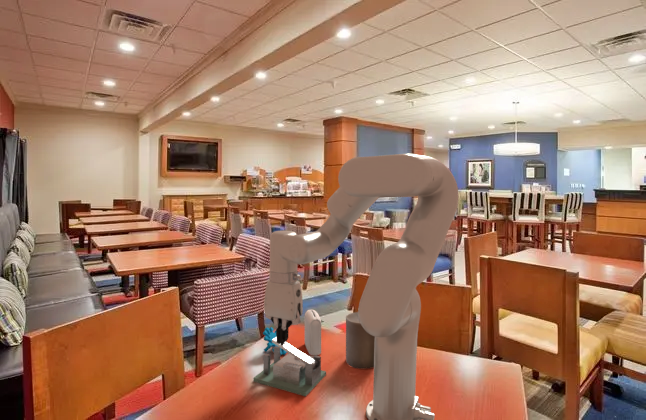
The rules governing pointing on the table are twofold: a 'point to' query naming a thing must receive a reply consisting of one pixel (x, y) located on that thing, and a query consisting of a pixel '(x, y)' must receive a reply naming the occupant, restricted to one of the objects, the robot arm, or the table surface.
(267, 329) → the gear
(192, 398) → the table surface
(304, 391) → the board
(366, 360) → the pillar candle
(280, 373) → the grey block frame
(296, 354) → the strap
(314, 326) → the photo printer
